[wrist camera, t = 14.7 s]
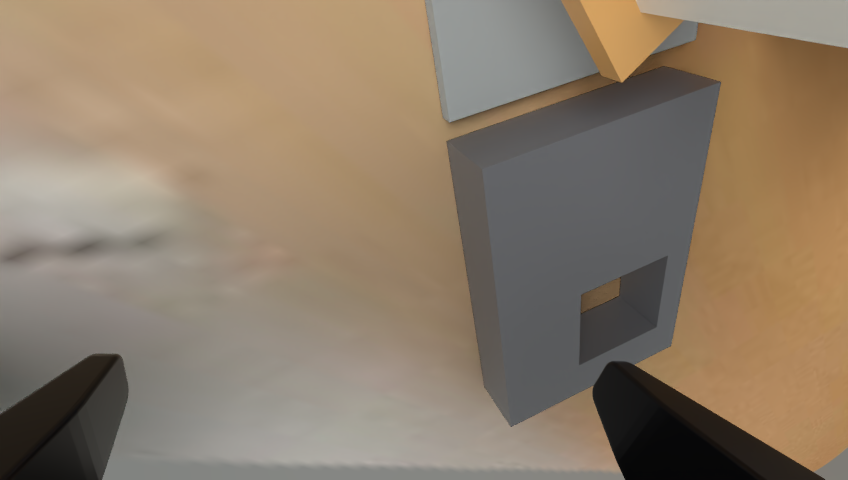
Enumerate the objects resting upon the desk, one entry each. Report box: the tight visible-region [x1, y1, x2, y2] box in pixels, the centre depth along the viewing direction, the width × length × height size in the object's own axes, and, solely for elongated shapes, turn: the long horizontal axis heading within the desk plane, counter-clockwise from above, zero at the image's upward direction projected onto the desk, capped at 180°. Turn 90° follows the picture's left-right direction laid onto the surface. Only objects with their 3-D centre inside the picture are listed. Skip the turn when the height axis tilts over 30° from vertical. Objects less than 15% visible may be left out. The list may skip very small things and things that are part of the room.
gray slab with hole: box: [447, 66, 721, 427], centre depth 24 cm, size 11×16×3 cm
